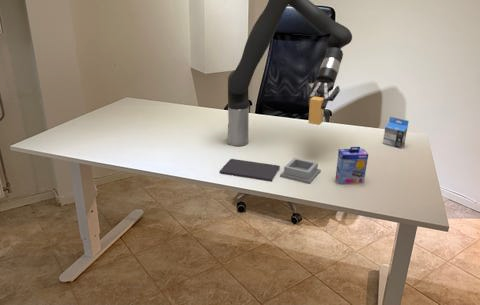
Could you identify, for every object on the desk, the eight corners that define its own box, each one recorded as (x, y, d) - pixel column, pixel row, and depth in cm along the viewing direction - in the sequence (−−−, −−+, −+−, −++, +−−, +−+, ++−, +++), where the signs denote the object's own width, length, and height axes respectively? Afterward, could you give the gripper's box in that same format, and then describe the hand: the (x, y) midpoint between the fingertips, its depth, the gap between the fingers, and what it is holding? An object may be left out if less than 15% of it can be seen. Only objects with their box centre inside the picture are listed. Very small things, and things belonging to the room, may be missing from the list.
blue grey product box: (382, 143, 183) (385, 118, 178) (385, 141, 185) (389, 116, 180) (401, 148, 177) (405, 122, 172) (404, 146, 180) (409, 120, 175)
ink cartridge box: (338, 184, 146) (343, 148, 140) (334, 178, 151) (338, 142, 145) (365, 183, 146) (370, 147, 141) (359, 177, 151) (364, 141, 146)
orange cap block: (308, 123, 159) (310, 99, 156) (312, 120, 163) (314, 96, 159) (319, 125, 157) (321, 100, 153) (322, 121, 161) (324, 97, 157)
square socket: (280, 176, 151) (280, 167, 150) (292, 165, 161) (292, 156, 159) (309, 184, 146) (310, 174, 144) (320, 171, 156) (321, 162, 154)
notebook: (219, 174, 154) (272, 183, 148) (219, 171, 154) (272, 179, 147) (230, 161, 165) (280, 169, 159) (230, 158, 165) (280, 165, 158)
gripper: (310, 64, 162) (297, 100, 157) (344, 68, 155) (332, 105, 150) (313, 75, 168) (301, 109, 163) (346, 78, 162) (335, 114, 157)
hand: (316, 107), depth 157 cm, fingers closed on orange cap block, 4 cm apart
